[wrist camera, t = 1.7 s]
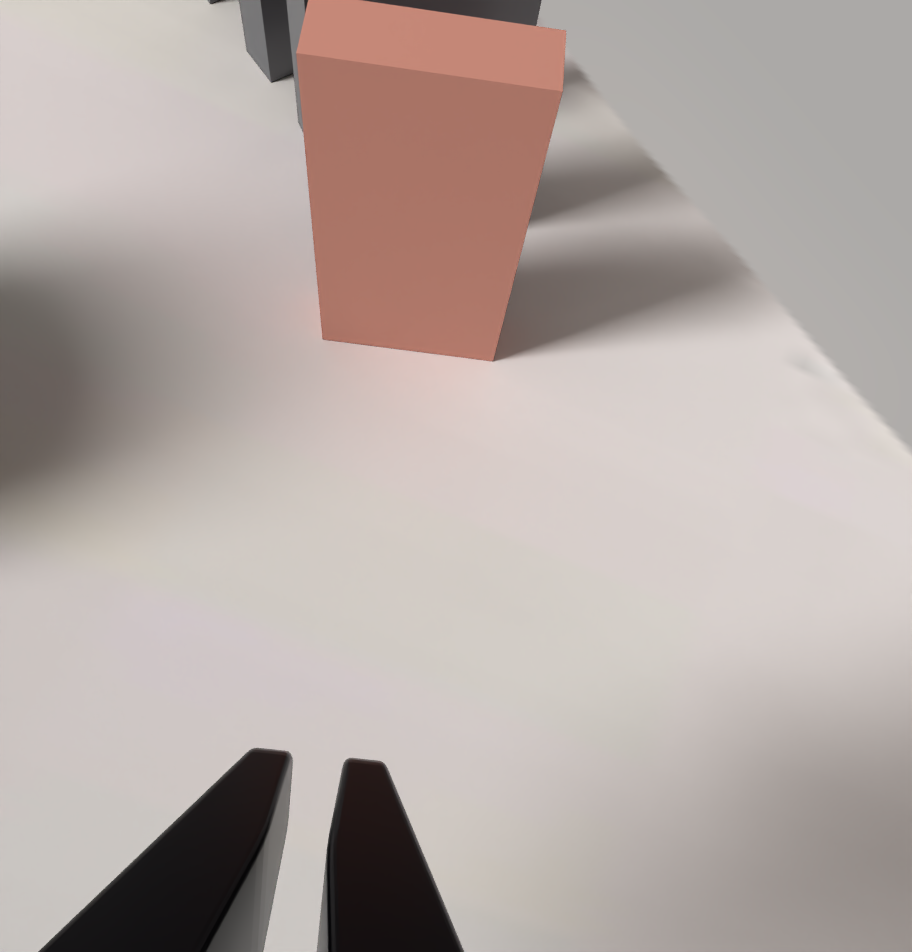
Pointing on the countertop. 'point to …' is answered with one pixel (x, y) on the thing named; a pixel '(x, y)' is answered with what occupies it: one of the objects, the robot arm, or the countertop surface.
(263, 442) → the countertop surface
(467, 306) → the domino
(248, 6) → the domino
